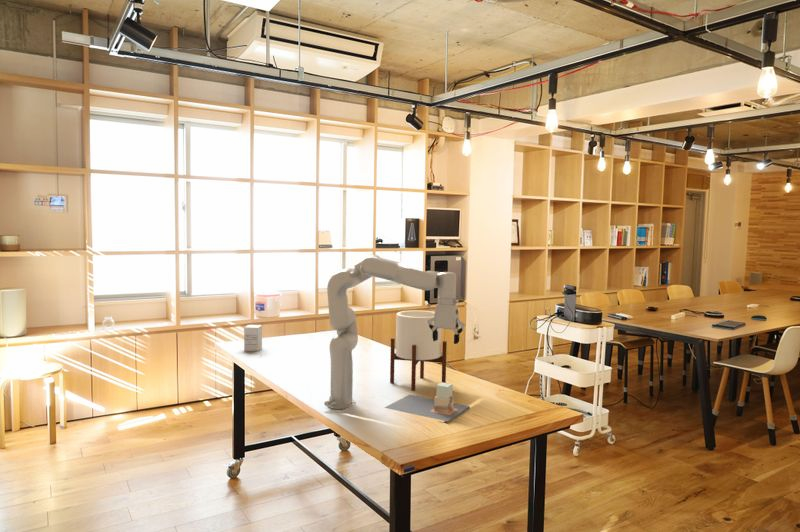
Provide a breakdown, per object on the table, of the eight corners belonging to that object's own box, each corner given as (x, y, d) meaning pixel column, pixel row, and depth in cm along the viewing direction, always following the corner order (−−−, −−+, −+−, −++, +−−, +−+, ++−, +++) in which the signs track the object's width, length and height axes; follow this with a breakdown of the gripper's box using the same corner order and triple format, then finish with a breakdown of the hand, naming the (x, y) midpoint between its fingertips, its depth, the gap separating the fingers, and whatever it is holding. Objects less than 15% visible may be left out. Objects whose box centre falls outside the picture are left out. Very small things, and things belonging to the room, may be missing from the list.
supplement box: (248, 347, 347) (248, 324, 346) (262, 348, 347) (262, 324, 346) (243, 351, 338) (243, 327, 337) (258, 351, 338) (258, 327, 337)
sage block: (447, 398, 227) (447, 387, 227) (436, 396, 230) (436, 385, 230) (452, 395, 232) (452, 384, 231) (441, 393, 234) (441, 382, 234)
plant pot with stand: (412, 394, 256) (413, 318, 254) (386, 382, 275) (387, 312, 272) (449, 387, 269) (451, 315, 266) (422, 376, 287) (424, 309, 285)
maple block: (447, 413, 227) (447, 399, 227) (434, 410, 230) (434, 396, 230) (453, 409, 232) (453, 395, 232) (440, 406, 235) (440, 393, 235)
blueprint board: (447, 423, 218) (447, 421, 218) (384, 409, 233) (384, 407, 233) (469, 408, 237) (469, 406, 237) (409, 396, 252) (409, 394, 252)
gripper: (469, 302, 227) (468, 343, 228) (432, 299, 236) (431, 338, 237) (462, 304, 220) (460, 346, 222) (424, 300, 229) (423, 341, 230)
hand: (445, 342), depth 229 cm, fingers open, 9 cm apart
